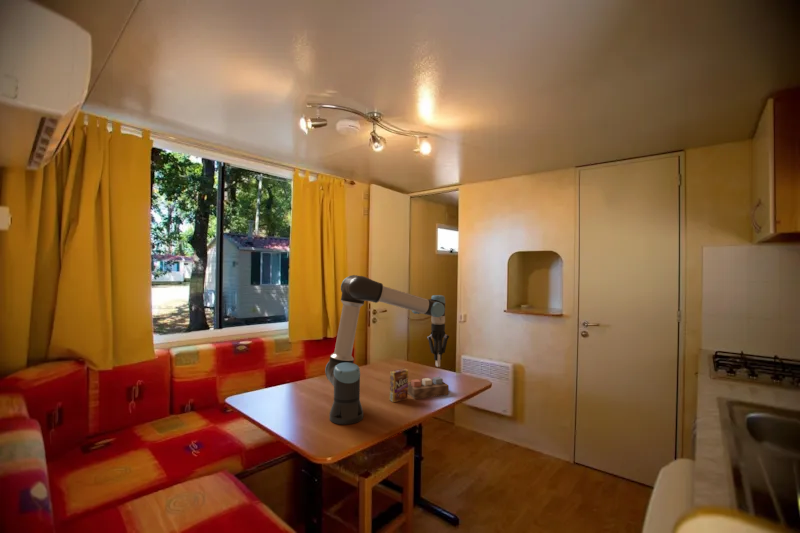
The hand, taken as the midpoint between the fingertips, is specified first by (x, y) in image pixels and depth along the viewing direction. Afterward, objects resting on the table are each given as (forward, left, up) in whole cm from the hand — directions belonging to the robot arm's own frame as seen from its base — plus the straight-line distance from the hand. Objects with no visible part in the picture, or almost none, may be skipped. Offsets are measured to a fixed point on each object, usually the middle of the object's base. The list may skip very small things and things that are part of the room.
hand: (437, 366), depth 195 cm
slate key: (0, 0, -11) cm, 11 cm away
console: (-7, 0, -14) cm, 16 cm away
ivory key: (-7, 0, -11) cm, 12 cm away
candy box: (-25, -4, -14) cm, 29 cm away
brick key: (-13, 0, -11) cm, 17 cm away
